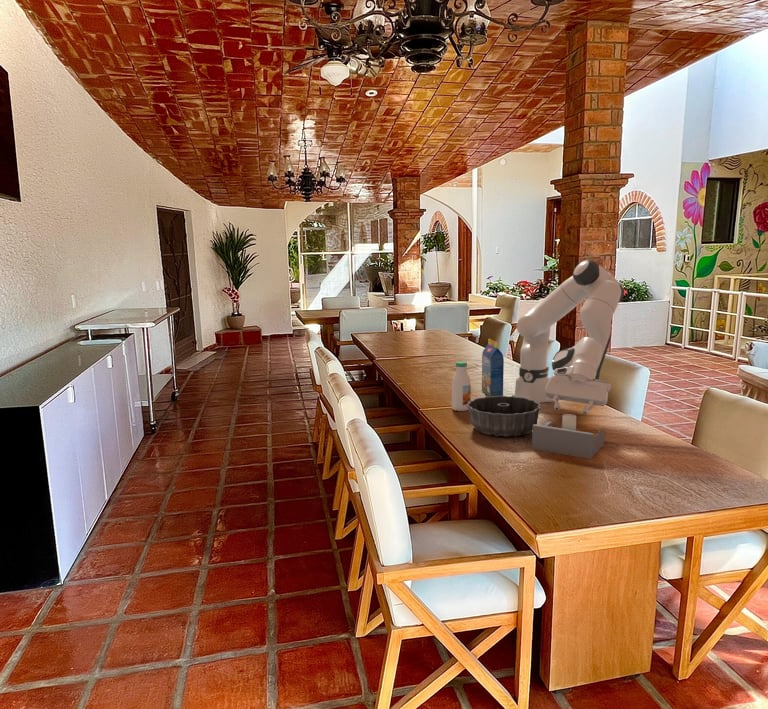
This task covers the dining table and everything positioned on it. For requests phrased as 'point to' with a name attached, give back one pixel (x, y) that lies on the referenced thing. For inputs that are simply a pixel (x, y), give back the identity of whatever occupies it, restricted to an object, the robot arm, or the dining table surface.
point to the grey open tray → (566, 441)
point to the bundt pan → (503, 415)
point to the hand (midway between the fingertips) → (570, 411)
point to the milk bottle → (461, 388)
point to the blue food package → (492, 369)
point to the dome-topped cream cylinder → (569, 421)
